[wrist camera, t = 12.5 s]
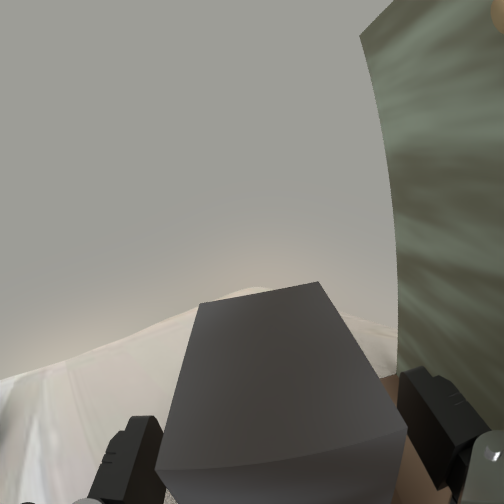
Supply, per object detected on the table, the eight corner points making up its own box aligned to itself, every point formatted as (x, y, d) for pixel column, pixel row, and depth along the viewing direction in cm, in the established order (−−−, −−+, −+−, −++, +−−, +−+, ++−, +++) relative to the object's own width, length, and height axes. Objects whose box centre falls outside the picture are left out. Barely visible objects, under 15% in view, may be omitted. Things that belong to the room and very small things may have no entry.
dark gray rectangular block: (274, 609, 7) (149, 469, 4) (267, 517, 13) (197, 304, 9) (356, 595, 7) (408, 426, 4) (334, 505, 13) (318, 281, 9)
